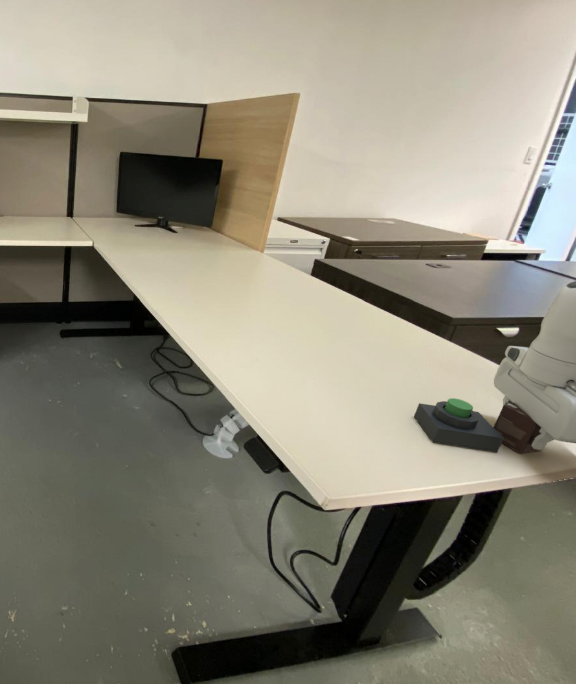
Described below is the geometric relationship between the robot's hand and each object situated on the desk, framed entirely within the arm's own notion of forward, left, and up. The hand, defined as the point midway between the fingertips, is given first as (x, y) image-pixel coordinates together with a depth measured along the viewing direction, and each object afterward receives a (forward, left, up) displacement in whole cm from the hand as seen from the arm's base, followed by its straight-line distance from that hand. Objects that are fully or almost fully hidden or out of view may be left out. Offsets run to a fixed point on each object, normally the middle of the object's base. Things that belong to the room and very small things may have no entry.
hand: (520, 432), depth 88 cm
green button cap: (+12, 0, +2) cm, 12 cm away
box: (0, 0, -3) cm, 2 cm away
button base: (+11, 0, -2) cm, 11 cm away
